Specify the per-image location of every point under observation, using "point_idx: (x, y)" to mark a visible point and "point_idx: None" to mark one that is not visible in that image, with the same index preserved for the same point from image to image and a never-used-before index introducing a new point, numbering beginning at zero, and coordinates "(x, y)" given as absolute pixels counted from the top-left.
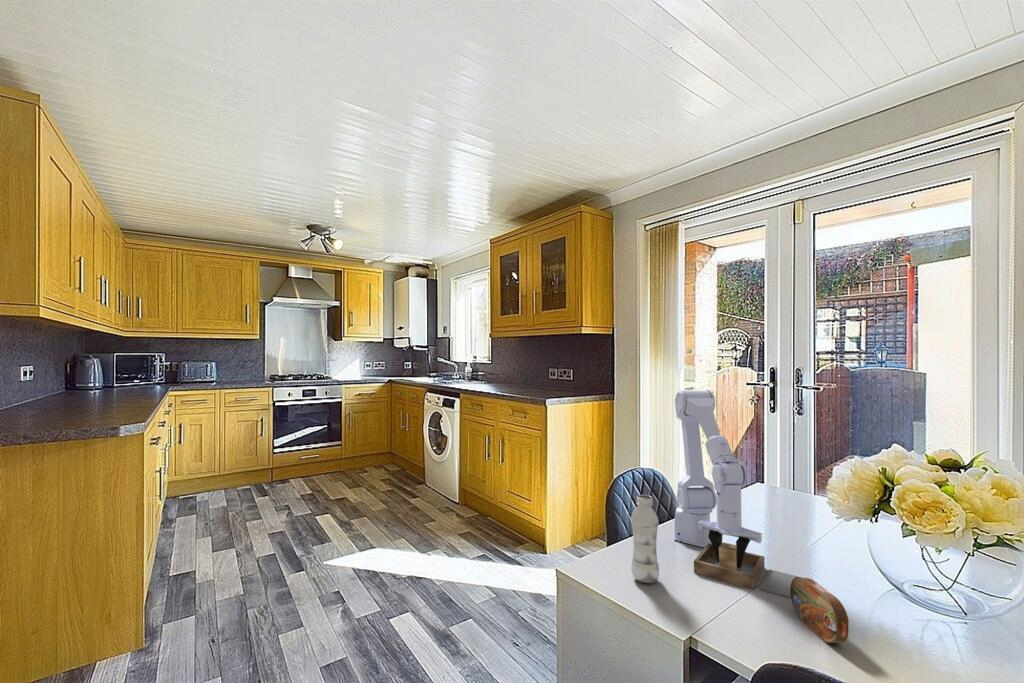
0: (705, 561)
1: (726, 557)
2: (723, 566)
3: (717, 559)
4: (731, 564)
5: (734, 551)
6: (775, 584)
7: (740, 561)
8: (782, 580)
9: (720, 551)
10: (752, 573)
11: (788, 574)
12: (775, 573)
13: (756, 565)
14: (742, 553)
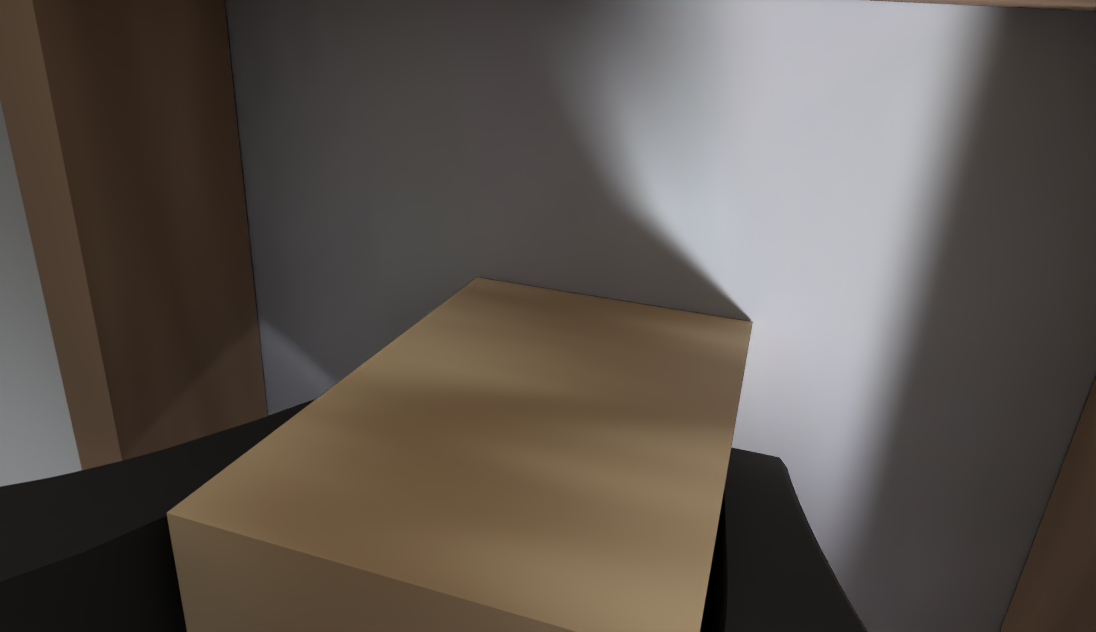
0: (1039, 569)
1: (535, 440)
2: (658, 354)
3: (782, 483)
4: (479, 353)
5: (221, 516)
6: (18, 217)
7: (284, 414)
8: (14, 370)
9: (664, 554)
10: (21, 21)
11: None
12: None
13: (105, 426)
14: (60, 482)
